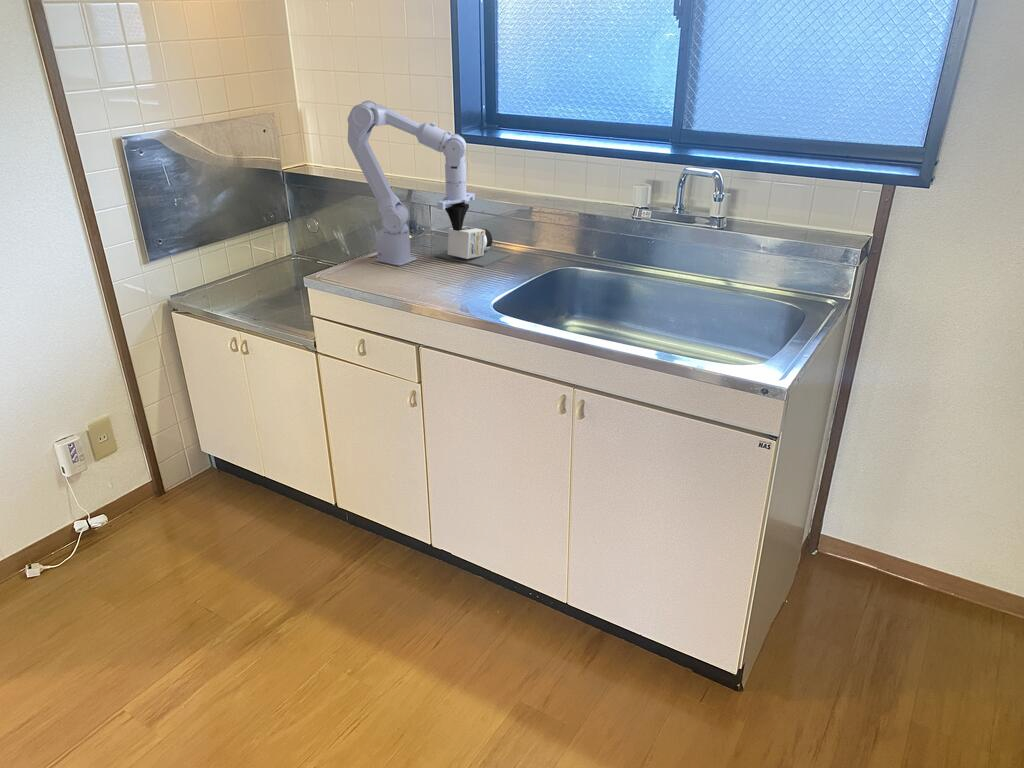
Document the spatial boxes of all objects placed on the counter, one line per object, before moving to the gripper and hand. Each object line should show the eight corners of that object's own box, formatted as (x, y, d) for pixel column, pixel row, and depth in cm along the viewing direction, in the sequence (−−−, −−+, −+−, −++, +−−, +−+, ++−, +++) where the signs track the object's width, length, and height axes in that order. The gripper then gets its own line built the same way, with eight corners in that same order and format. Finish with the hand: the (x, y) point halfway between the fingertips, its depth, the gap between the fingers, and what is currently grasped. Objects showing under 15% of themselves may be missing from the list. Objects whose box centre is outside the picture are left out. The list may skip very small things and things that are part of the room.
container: (469, 232, 219) (496, 228, 229) (448, 228, 223) (475, 224, 233) (467, 259, 221) (494, 254, 232) (446, 254, 226) (474, 250, 236)
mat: (434, 256, 229) (434, 255, 228) (461, 246, 238) (461, 245, 238) (484, 267, 219) (483, 265, 219) (509, 256, 229) (509, 254, 229)
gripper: (450, 187, 206) (452, 237, 212) (483, 178, 217) (483, 226, 223) (430, 184, 210) (432, 233, 216) (463, 175, 221) (464, 223, 227)
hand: (457, 229), depth 220 cm, fingers closed
